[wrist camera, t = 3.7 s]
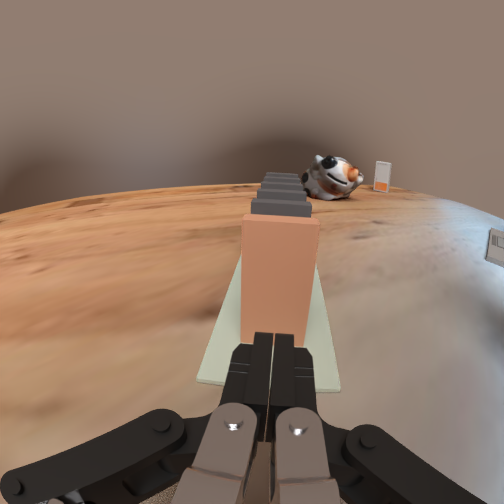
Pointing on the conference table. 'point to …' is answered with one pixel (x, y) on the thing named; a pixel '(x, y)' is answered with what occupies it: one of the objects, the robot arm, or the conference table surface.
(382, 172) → the skincare box
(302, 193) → the domino
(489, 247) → the laptop
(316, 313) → the strip
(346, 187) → the lucky cat figurine
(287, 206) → the domino
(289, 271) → the domino
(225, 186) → the conference table surface
